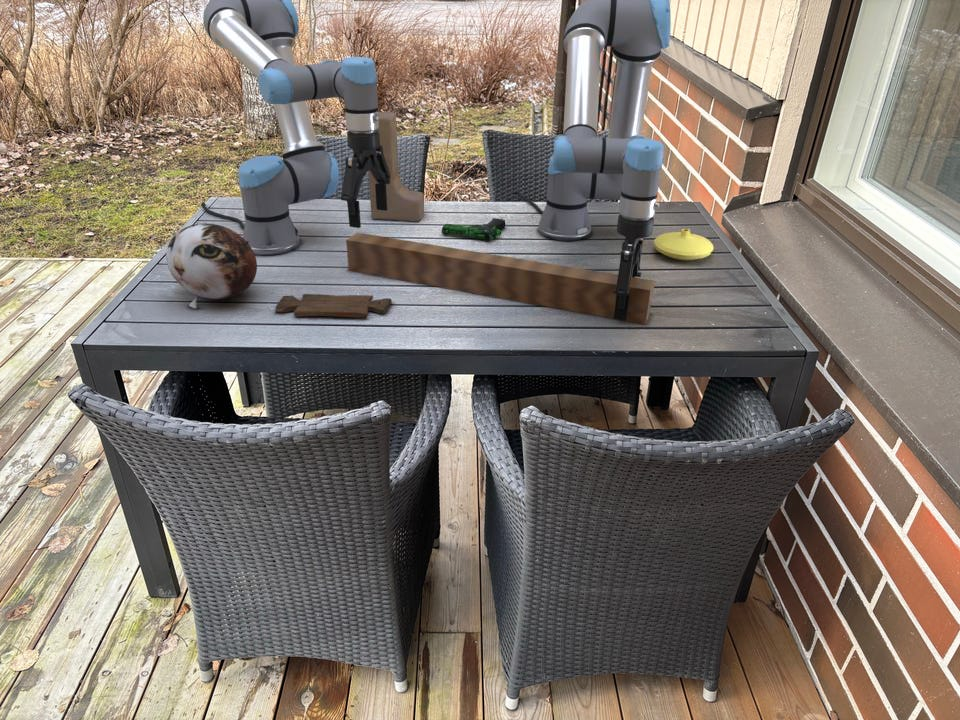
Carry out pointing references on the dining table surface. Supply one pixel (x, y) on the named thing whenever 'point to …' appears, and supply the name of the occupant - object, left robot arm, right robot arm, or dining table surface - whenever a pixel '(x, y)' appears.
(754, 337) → the dining table surface
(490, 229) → the handgun
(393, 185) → the decorative block
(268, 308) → the dining table surface
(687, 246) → the vase
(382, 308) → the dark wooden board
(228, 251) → the cat face balloon
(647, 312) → the bar
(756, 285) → the dining table surface
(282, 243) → the left robot arm
